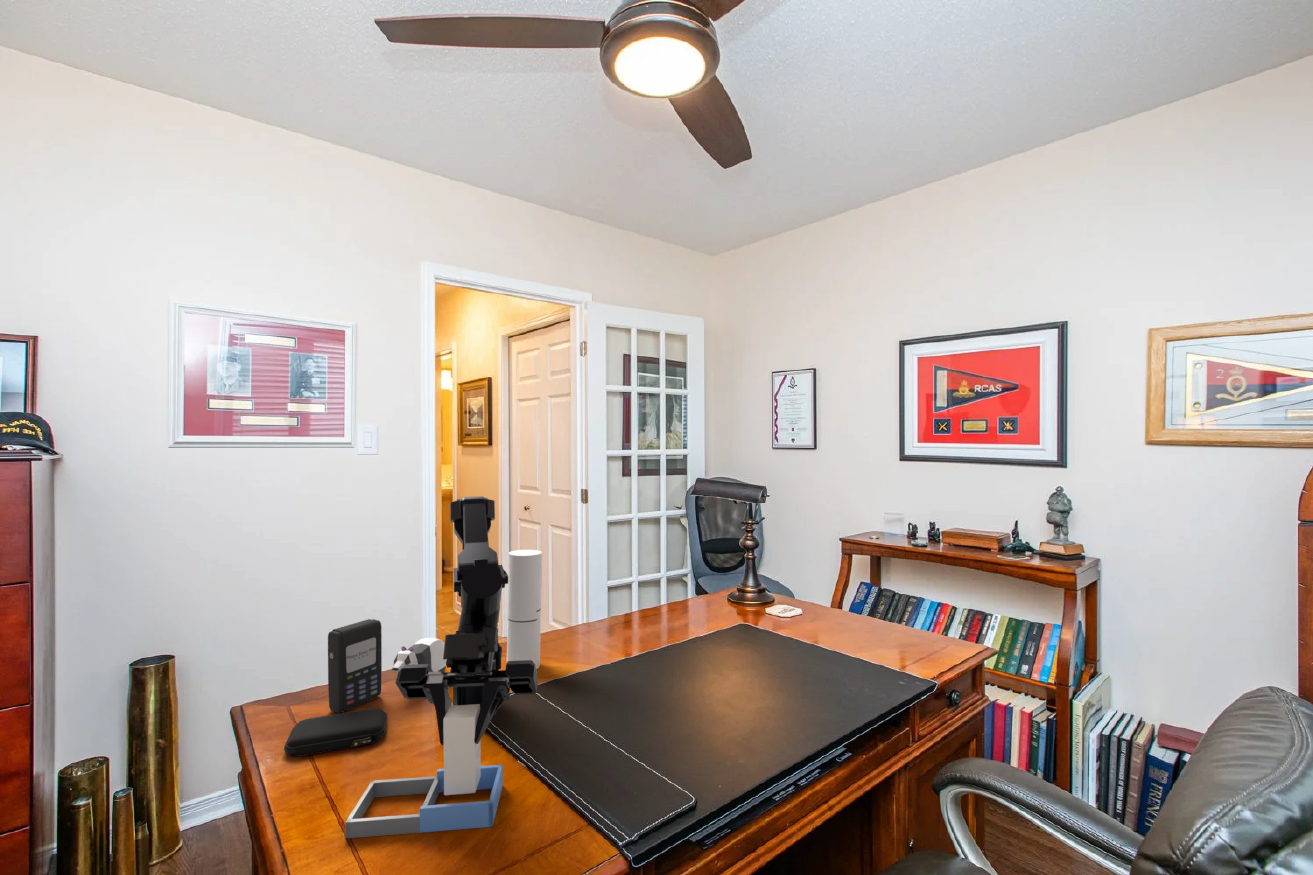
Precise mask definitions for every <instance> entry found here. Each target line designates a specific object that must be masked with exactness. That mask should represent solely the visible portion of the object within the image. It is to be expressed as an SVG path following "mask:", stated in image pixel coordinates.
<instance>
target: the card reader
mask: <svg viewBox="0 0 1313 875" xmlns="http://www.w3.org/2000/svg"><path fill="white" fill-rule="evenodd" d="M382 638H383V637H382V623H381V621H380V619H379V620H378V619H375V618H374V619H373V618H372V619H370V618H368V619H364V620H361V621H358V622H353V623H351V624H347V625H344V626H341V627H337V628H334V629H332V630H331V631H329V632H328V635H327V678H328V679H327V680H328V681H327V684H328V686H327V687H328V706H329V707H328V708H329V709H330V711H331V712H334V713H335V714H340V713H345V712H348V711H349V710H352V709H353V708H356V707H358V706H361V705H364V704H366V703H368V702H370V701H373V700H375V699H376V698H378V697H379V696H381V693H382V665H383V663H382V658H383V657H382V653H383V652H382Z"/></svg>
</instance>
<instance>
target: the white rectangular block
mask: <svg viewBox="0 0 1313 875" xmlns="http://www.w3.org/2000/svg"><path fill="white" fill-rule="evenodd" d="M479 712H480V704H473V705H457V706H455V705H451V706H450V708H449V710H448V711H447V713H446V715H445V717H444V719H443V735H444V745H443V769H444V792H443V795H444V796H450V795H451V796H452V795H453V796H454V795H464V794H465V795H466V794H476V792H477V790H476V789H477V786H478V783H479V780H480V777H481V766H482V764H481V761H482V758H481V757H482V756H481V755H482V754H481V753H482V752H481V741H480V742H479V743H478V744H475V742H474V738H475V730H476V725H477V721H478V716H479Z"/></svg>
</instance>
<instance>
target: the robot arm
mask: <svg viewBox="0 0 1313 875" xmlns="http://www.w3.org/2000/svg"><path fill="white" fill-rule="evenodd" d="M449 504H450V505H449V511H450V512H449V514H450V515H449V516H450V518H449V519H450V521H449V522H450V523H451V524H453V531H454V535H455V536H456V537H457V539H458V541H459V542H460V543H461V547H462V548H461V549H462V550H461V551H460V552H459V554H458V555H457V567H454V568H453V593H457V595H458V597H460V607H461V611H460V617H459V623H458V627H457V630H456V631H455V633H454V634H453V633H451V634H446V635H445V637H444V644H445V645H444V654H443V659H444V660H446V659H447V660H446V667H447V668H448V669H449V668H450V670H449V672H433V670H432V668H431V666H430V664H413V665H404V666H403V667H402V668H401V669H400V671H399V672H398V673H397V676H396V680H395V685H396V688H398V690H399V691H400V693H401V694H402V696H403V698H404V699H406V700H423V699H424V700H428V702H429V704H431V705H434V710H435V714H436V721H437V722H436V723H437V729H438V737H439V744H440V745H441V746H443V747H444V735H443V719H444V717H445V715H446V713H447V711H448V710H449V708H450V706H452V704H453V706H457V705H473V704H480V712H479V716H478V721H477V725H476V730H475V738H474V742H475V744H478V743H479V742H480V743H481V740H482V737H483V736H484V734H485V732H486V730H487V728H488V726H489V724H490V722H491V721H492V719H493V718H494V715H495V714H496V713H497V711H498V710H499V709H500V707H501V705H502V704H503V703H504V702H509V701H510V700H511V693H510V691H511V692H512V693H513V694H514V696H520V695H521V696H523V695H525V696H527V695H535V694H537V692H538V684H539V683H538V680H539V679H538V672H537V671H538V670H537V669H536V666H535V664H534V663H533V661H532V660H522V661H508V662H507V661H506V665H505V669H504V670H503V669H502V655H503V654H502V653H503V647H502V645H500V643H499V628H498V625H499V620H500V610H501V599H502V591H503V590H502V589H505V587H506V585H508V573H507V571H506V570H505V569H504V567H503V564H499V559H498V553H497V551H496V550H494V549H493V548H492V547H490V545H489V533H490V531H491V527H492V521H495V519H496V506H495V504H496V502H495V500H494V499H490V498H489V499H488V497H485V496H484V495H483V496H481V495H480V496H479V495H478V496H464V497H462V498H457V499H456V500H453V501H451V502H450V503H449ZM501 669H502V670H501ZM450 688H452V698H451V695H450V694H449V691H450Z"/></svg>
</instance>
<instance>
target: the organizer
mask: <svg viewBox="0 0 1313 875" xmlns="http://www.w3.org/2000/svg"><path fill="white" fill-rule="evenodd" d="M503 767H504V765H503V764H493V765H481V777H480V780H479V783H478V786H477V789H476V791H479V790H480V791H481V790H491V792H490V797H489V800H484V801H471V802H470V801H467V802H455V803H443V804H436V801H437V799H438V796H439V794H440V793H444V768H438V769H437V771H436V776H435V775H434V776H421V777H406V778H391V779H378V780H371V782H370V783H369V784H368V786H367V787H366V789H365V790H364V792H363V794H362V795H361V797H360V799H359V800H358V802H357V804H356V805H355V806H354V808H353V810H352V811H351V813H350V814H349V816H348V817H347V819H346V820H345V822H344V830H345V831H344V832H345V833H344V835H345V838H344V839H355V838H367V837H369V838H370V837H380V836H381V837H382V836H395V835H405V834H419V833H431V832H444V831H454V830H455V831H456V830H468V829H478V828H479V829H481V828H491V827H493V826H494V822H495V818H496V814H497V810H498V806H499V803H500V800H501V799H500V798H501V795H502V791H503V786H504V772H503V771H504V768H503ZM422 794H423V795H425V794H427V795H426V797H425V800H424V802H423V804H422V805H421V806H420V807H419V812H418V813H416V814H401V815H388V816H375V817H364V815H365V813H366V811H367V810H368V809H369V807H370V805H371V803H372V802H373V800H374V798H382V797H395V796H396V797H397V796H410V795H422Z"/></svg>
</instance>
